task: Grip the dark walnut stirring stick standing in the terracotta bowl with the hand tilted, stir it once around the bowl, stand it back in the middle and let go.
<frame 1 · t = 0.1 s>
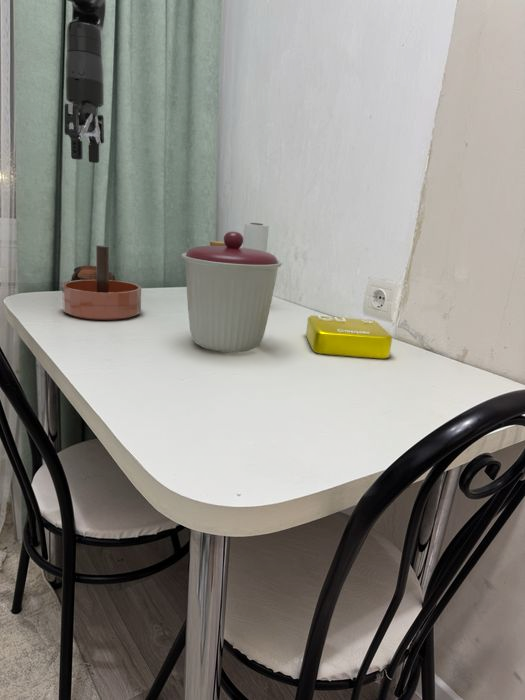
hand: (85, 161, 111), 32 cm above the table, tool pointing down, fingers open, 8 cm apart
element tile: (345, 347, 103), on the table
canister: (226, 346, 96), on the table
paper towel roll: (251, 307, 133), on the table
stirring stick: (102, 309, 112), point 1 cm above the table, touching bowl
pottery mug: (93, 294, 131), on the table
bowl: (102, 312, 112), on the table
bottle: (214, 295, 145), on the table
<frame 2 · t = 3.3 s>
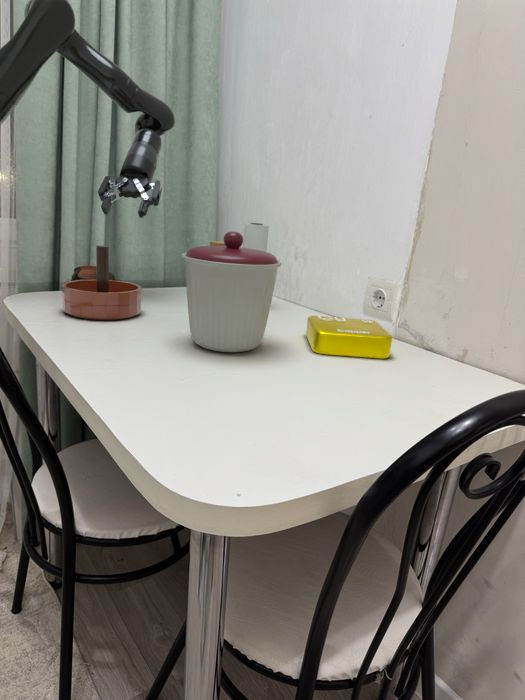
hand: (122, 213, 117), 21 cm above the table, tool tilted 45°, fingers open, 8 cm apart
nothing on the table moved.
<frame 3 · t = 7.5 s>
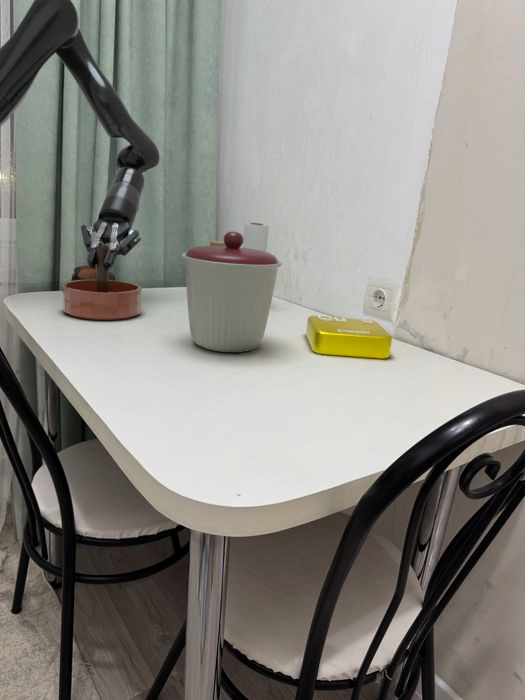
hand: (98, 266, 107), 11 cm above the table, tool tilted 45°, fingers closed on stirring stick, 2 cm apart
stirring stick: (102, 309, 112), point 1 cm above the table, touching bowl, gripper
everything else where it was.
when the fingers open (11 cm above the table, at t = 11.6 s): stirring stick stays where it is, resting on bowl.
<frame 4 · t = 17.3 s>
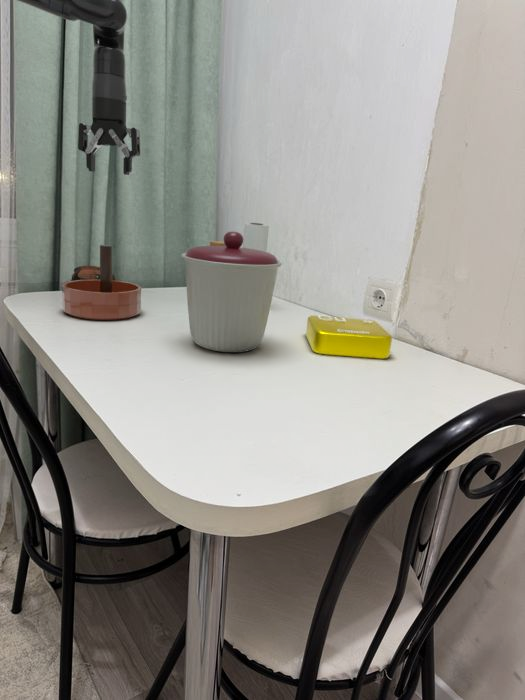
hand: (109, 173, 121), 30 cm above the table, tool pointing down, fingers open, 8 cm apart
stirring stick: (106, 308, 114), point 1 cm above the table, touching bowl
everything else where it was.
at the end: stirring stick inside the target area in the bowl (1.7 cm from its centre), point 0.6 cm above the bowl's base; stirring stick tilted 0°; the gripper is holding nothing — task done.
